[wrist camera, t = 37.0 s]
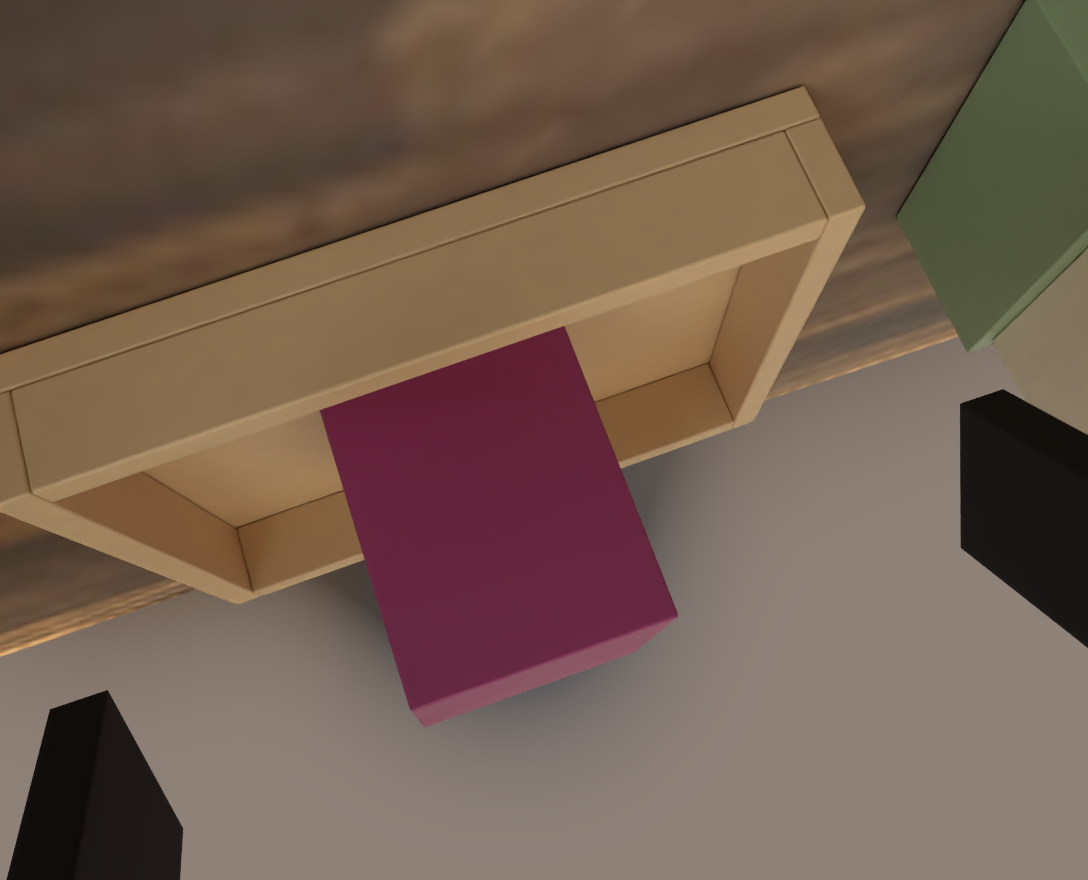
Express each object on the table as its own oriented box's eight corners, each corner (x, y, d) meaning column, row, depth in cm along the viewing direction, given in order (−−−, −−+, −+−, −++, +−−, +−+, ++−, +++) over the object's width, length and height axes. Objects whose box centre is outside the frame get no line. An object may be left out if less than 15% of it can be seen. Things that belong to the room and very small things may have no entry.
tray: (214, 518, 32) (236, 605, 31) (-40, 366, 19) (-13, 508, 18) (719, 341, 33) (754, 421, 32) (805, 84, 20) (868, 206, 19)
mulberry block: (339, 451, 28) (423, 727, 26) (306, 368, 22) (410, 712, 20) (537, 391, 29) (636, 651, 27) (554, 297, 24) (680, 616, 21)
